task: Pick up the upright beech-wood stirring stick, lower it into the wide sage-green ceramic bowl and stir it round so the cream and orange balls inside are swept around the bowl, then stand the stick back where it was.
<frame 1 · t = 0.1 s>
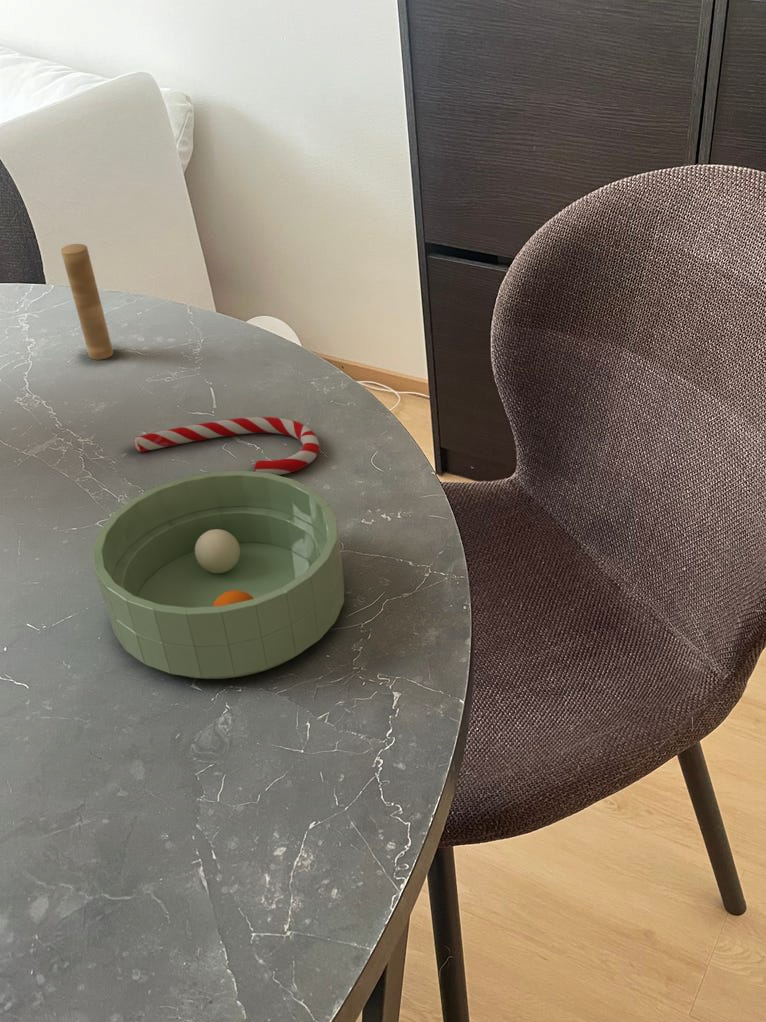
stirring stick: (101, 354, 97), on the table
bowl: (231, 608, 70), on the table
candy cane: (227, 455, 85), on the table
orange ball: (235, 613, 66), point 2 cm above the table, touching bowl
cream ball: (217, 551, 71), point 2 cm above the table, touching bowl
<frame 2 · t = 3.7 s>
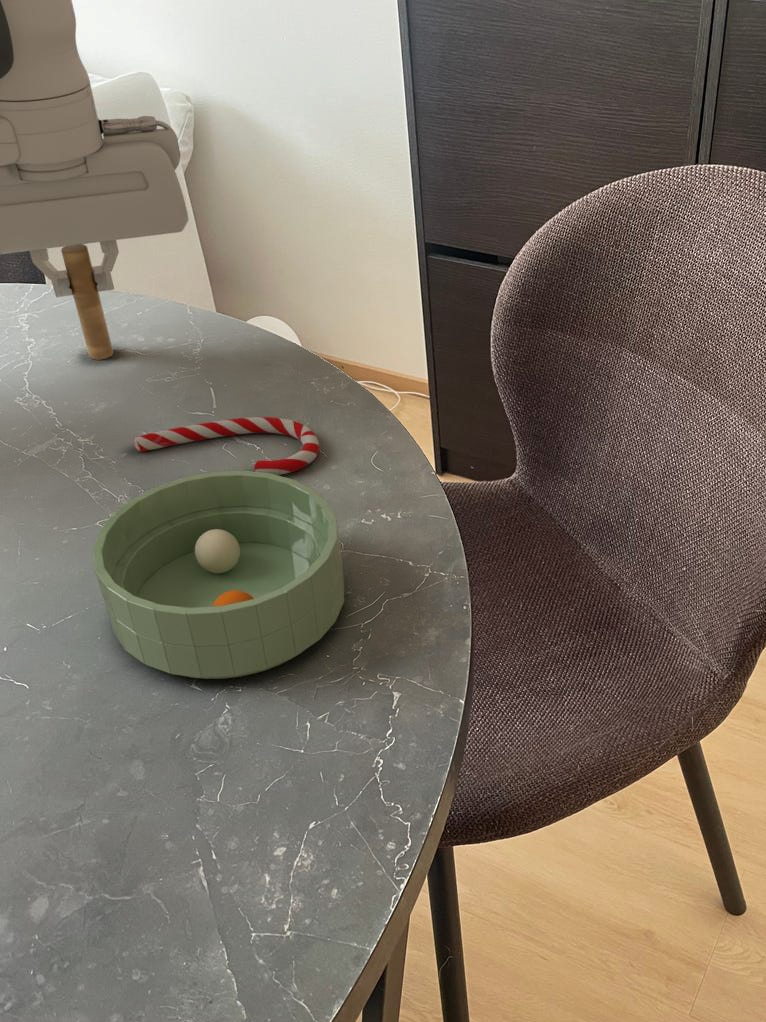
hand: (84, 291, 93), 6 cm above the table, tool pointing down, fingers closed on stirring stick, 2 cm apart
stirring stick: (101, 354, 97), on the table, touching gripper
everything else where it was.
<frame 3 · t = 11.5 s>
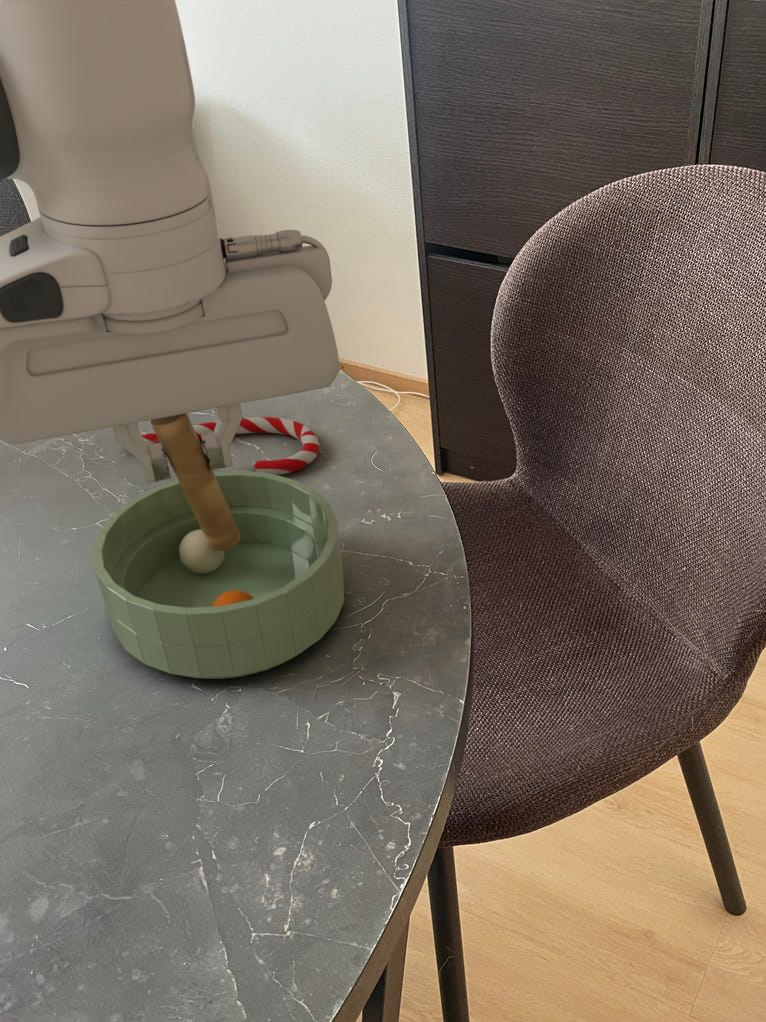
hand: (188, 470, 65), 9 cm above the table, tool pointing down, fingers closed on stirring stick, 2 cm apart
stirring stick: (225, 540, 70), point 4 cm above the table, tilted 11°, touching cream ball, gripper
cream ball: (201, 551, 71), point 2 cm above the table, tilted 40°, touching bowl, stirring stick
everything else where it was.
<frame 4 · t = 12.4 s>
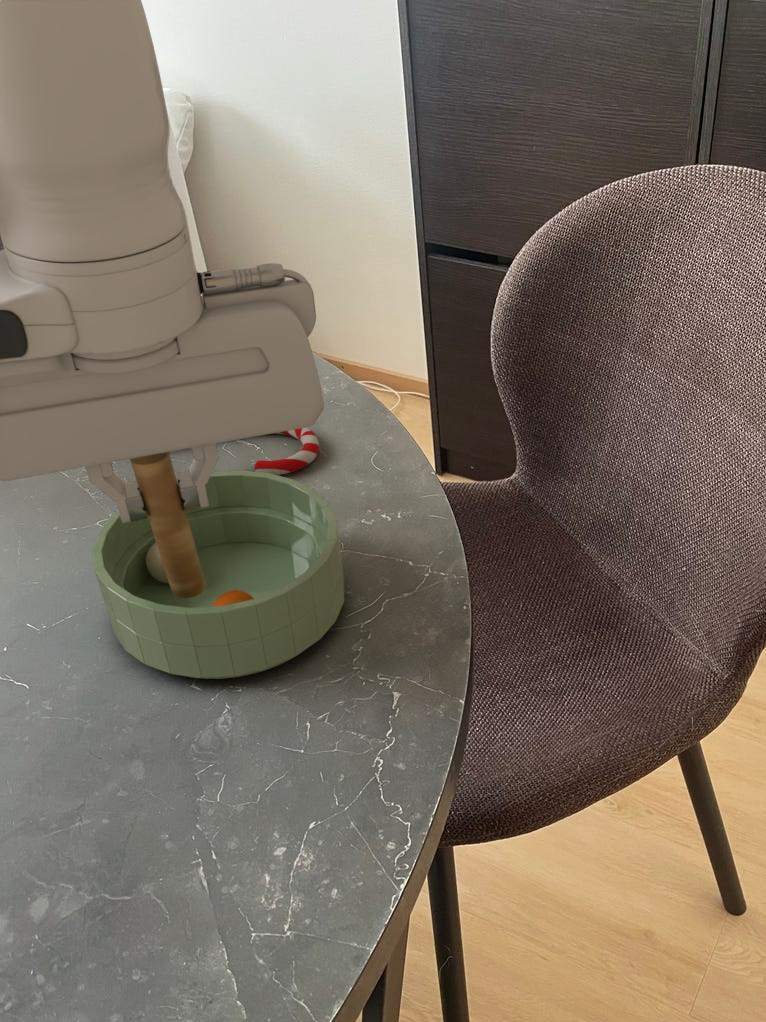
hand: (164, 510, 62), 9 cm above the table, tool pointing down, fingers closed on stirring stick, 2 cm apart
stirring stick: (189, 587, 67), point 3 cm above the table, touching gripper
cream ball: (169, 561, 70), point 2 cm above the table, tilted 122°, touching bowl
everything else where it was.
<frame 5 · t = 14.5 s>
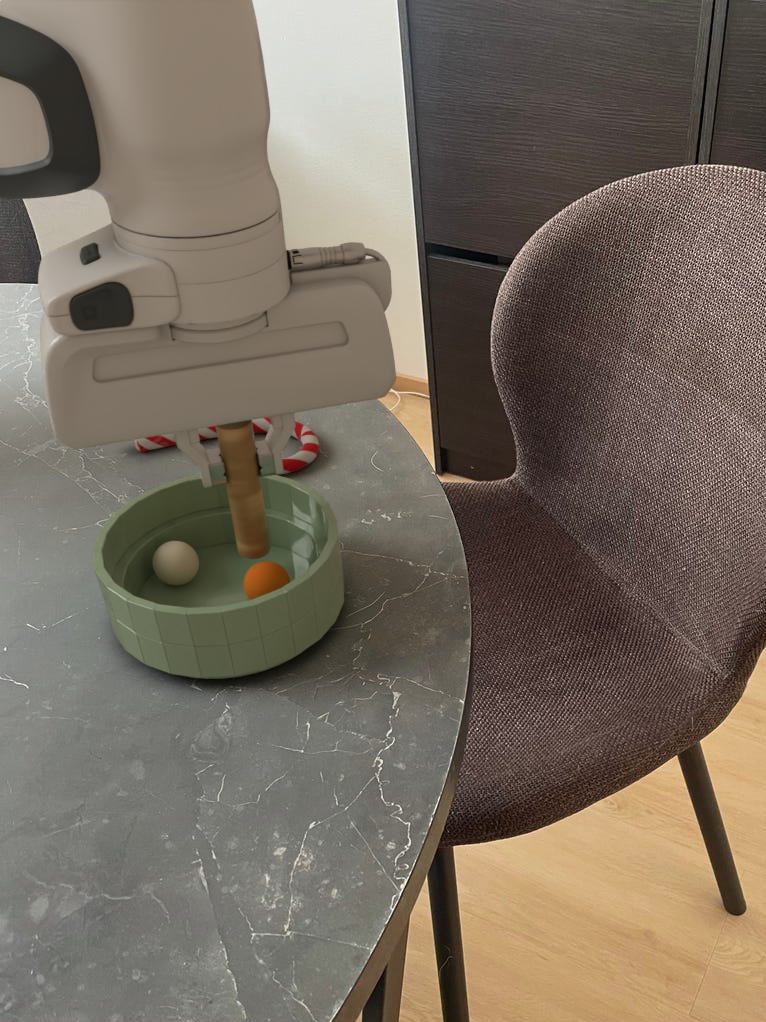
hand: (242, 476, 66), 9 cm above the table, tool pointing down, fingers closed on stirring stick, 2 cm apart
stirring stick: (254, 549, 70), point 3 cm above the table, touching gripper
orange ball: (267, 584, 68), point 2 cm above the table, tilted 71°, touching bowl
cream ball: (175, 563, 70), point 2 cm above the table, tilted 104°, touching bowl
everything else where it was.
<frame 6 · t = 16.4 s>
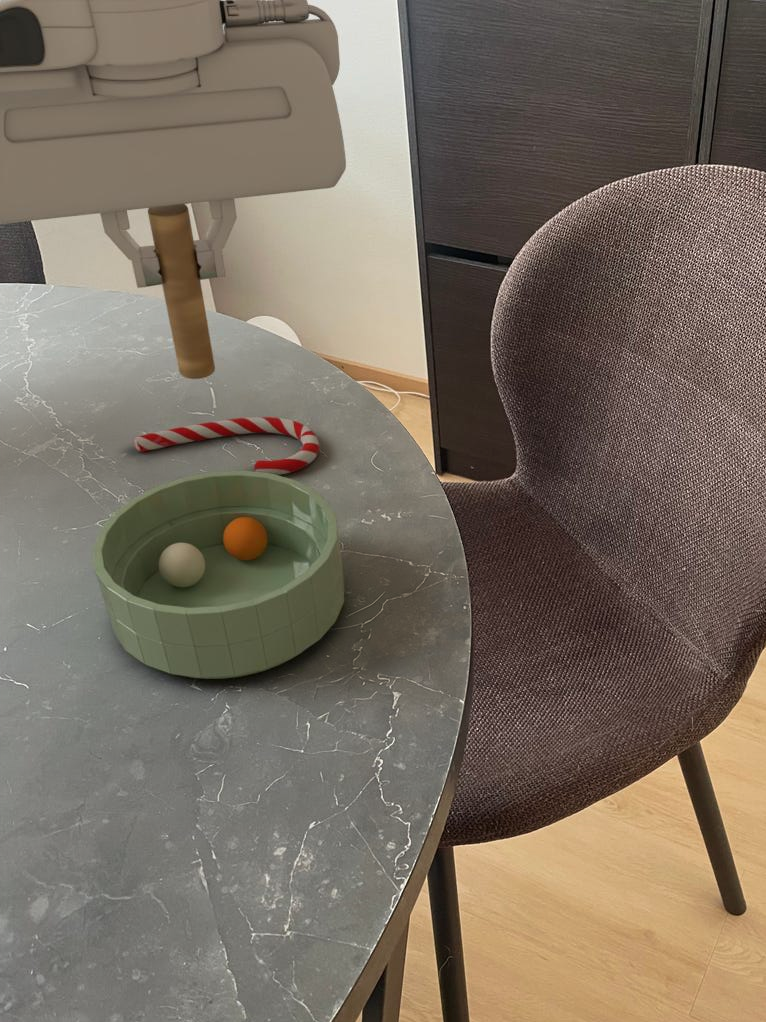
hand: (180, 279, 61), 20 cm above the table, tool pointing down, fingers closed on stirring stick, 2 cm apart
stirring stick: (197, 370, 65), point 14 cm above the table, touching gripper
orange ball: (245, 538, 72), point 2 cm above the table, tilted 108°, touching bowl
cream ball: (182, 565, 70), point 2 cm above the table, tilted 88°, touching bowl
everything else where it was.
when the fingers open (6 cm above the table, at t = 22.7 s): stirring stick stays where it is, on the table.
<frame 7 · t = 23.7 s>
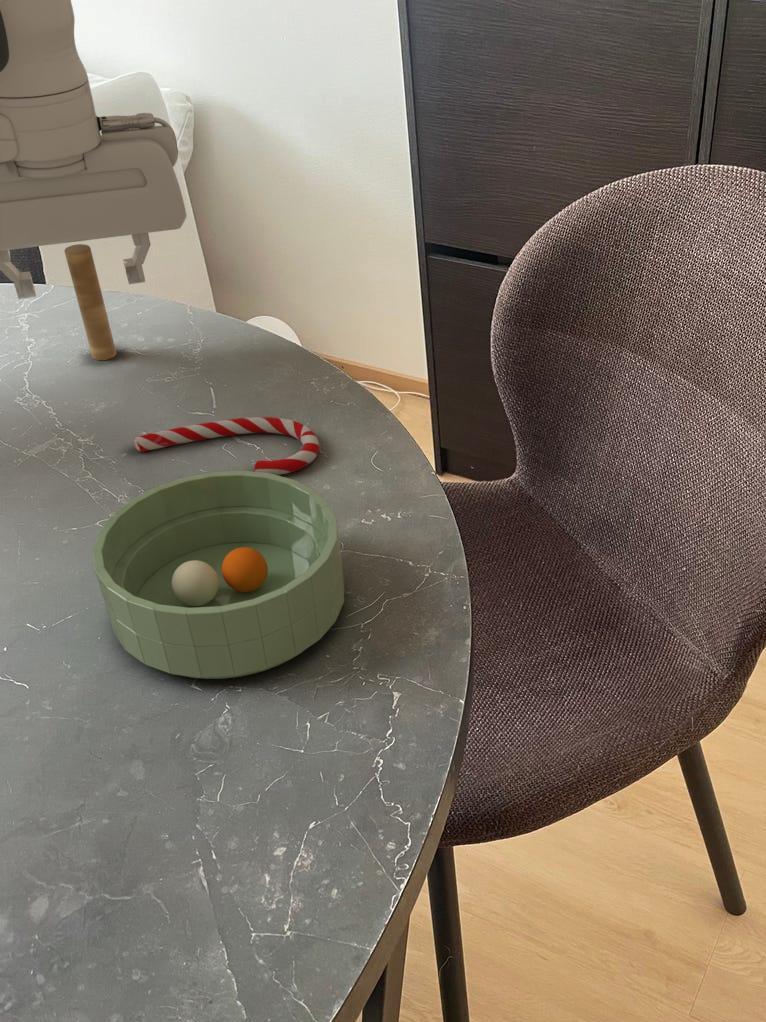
hand: (82, 288, 93), 6 cm above the table, tool pointing down, fingers open, 8 cm apart
stirring stick: (104, 355, 97), on the table
orange ball: (244, 569, 69), point 2 cm above the table, tilted 95°, touching bowl
cream ball: (195, 583, 68), point 2 cm above the table, tilted 72°, touching bowl
everything else where it was.
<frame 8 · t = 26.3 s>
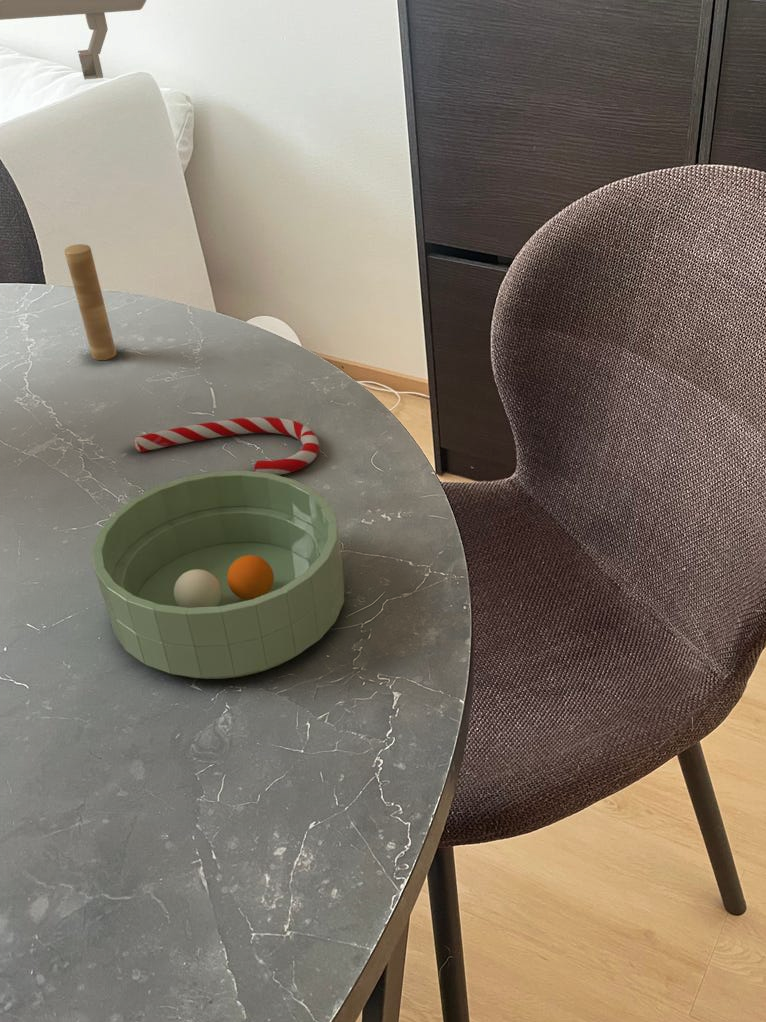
hand: (31, 82, 82), 23 cm above the table, tool pointing down, fingers open, 8 cm apart
orange ball: (250, 577, 69), point 2 cm above the table, tilted 110°, touching bowl
cream ball: (197, 592, 68), point 2 cm above the table, tilted 89°, touching bowl
everything else where it was.
at the end: cream ball moved 4.5 cm from its start; cream ball inside the target area in the bowl (2.0 cm from its centre), point 2.3 cm above the bowl's base; stirring stick inside the target area (0.4 cm from its centre), on the table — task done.
